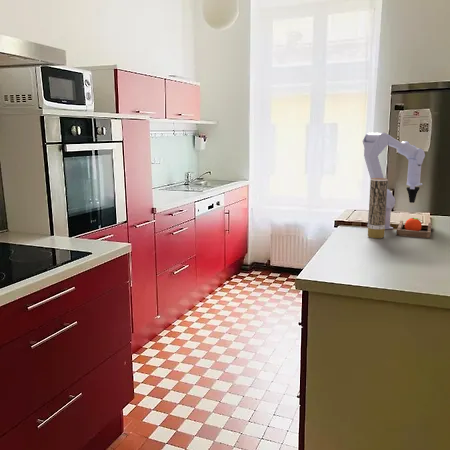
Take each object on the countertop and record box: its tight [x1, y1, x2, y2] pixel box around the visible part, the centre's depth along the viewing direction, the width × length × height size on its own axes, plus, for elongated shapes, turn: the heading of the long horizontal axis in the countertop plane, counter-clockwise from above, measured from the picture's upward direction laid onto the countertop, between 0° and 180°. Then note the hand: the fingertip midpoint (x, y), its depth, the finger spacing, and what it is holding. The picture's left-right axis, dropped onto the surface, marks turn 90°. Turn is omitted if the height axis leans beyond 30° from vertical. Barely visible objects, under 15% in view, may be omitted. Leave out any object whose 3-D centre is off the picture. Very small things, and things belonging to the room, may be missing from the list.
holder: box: [395, 220, 432, 239], centre depth 211 cm, size 21×13×2 cm, turn 156°
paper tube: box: [367, 177, 389, 240], centre depth 199 cm, size 7×7×25 cm
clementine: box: [404, 217, 422, 231], centre depth 207 cm, size 8×7×7 cm
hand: (412, 202), depth 225 cm, fingers closed
